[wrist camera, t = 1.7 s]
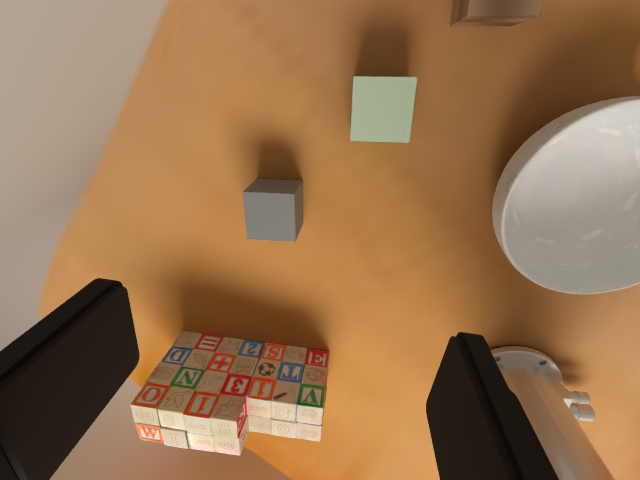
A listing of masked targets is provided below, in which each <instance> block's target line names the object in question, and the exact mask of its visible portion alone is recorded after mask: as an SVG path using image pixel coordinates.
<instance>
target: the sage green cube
mask: <svg viewBox="0 0 640 480" xmlns="http://www.w3.org/2000/svg"><path fill="white" fill-rule="evenodd" d="M416 84H417V77H362V76H353V95H352V116H351V136H350V141H370V142H406V143H409V140H410V132H411V124H412V116H413V108H414V100H415V92H416Z"/></svg>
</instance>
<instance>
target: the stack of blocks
mask: <svg viewBox="0 0 640 480" xmlns="http://www.w3.org/2000/svg"><path fill="white" fill-rule="evenodd" d="M329 353H330V352H329V351H322V350H314V349H307V348H304V347H297V346H286V345H282V344H275V343H268V342H266V343H265V342H258V341H251V340H243V339H235V338H228V337H223V336H216V335H209V334H202V333H196V332H188V331H182V333H181V334H180V336H179V337H178V338H177V340H176V341H175V342H174V344H173V346H172V347H171V348H170V350H169V351H168V353H167V354H166V355H165V357H164V358H163V359H162V361H161V362H160V363H159V364H158V365H157V367H156V368H155V369H154V371H153V372H152V374H151V375H150V376H149V378H148V379H147V381H146V384H145V385H144V387H143V388H142V389H141V391H140V392H139V393H138V395H137V396H136V397H135V399H134V400H133V402H132V403H131V409H132V413H133V417H134V421H135V422H136V428H137V431H138V434H139V437H140V439H141V440H146V441H154V442H159V443H164V444H165V445H168V446H174V447H180V448H189V447H190V448H191V449H197V450H204V451H211V452H214V451H216V452H219V453H226V454H233V455H241V451H242V448H243V446H244V443H245V440H246V437H247V434H248V431H253V432H260V433H266V434H272V435H277V436H284V437H290V438H299V439H305V440H311V441H318V442H319V441H320V438H321V430H322V422H323V414H324V405H325V398H326V389H327V385H326V384H327V374H328V366H329Z"/></svg>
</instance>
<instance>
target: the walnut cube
mask: <svg viewBox="0 0 640 480" xmlns="http://www.w3.org/2000/svg"><path fill="white" fill-rule="evenodd" d="M543 1H544V0H454V5H453V12H452V18H451V25H450V26H513V25H515V24H518V23H521V22H523V21H526V20H529V19H532V18H534V17H537V16H540V13H541V9H542V5H543Z"/></svg>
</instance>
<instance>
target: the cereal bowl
mask: <svg viewBox="0 0 640 480" xmlns="http://www.w3.org/2000/svg"><path fill="white" fill-rule="evenodd" d="M492 221H493V227H494V230H495V234H496V237H497V240H498V243H499V244H500V246H501V249H502V250H503V252H504V254H505V255H506V257H507V258H508V260H509V261H510V262H511V264H512V265H513V266H514V267H515V268H516V269H517V270H518V271H519V272H520V273H521V274H522V275H524V276H525V277H526V278H528V279H529V280H531V281H532V282H534V283H536V284H538V285H540V286H542V287H544V288H547V289H550V290H554V291H558V292H563V293H570V294H597V293H605V292H611V291H616V290H621V289H624V288H628V287H631V286H634V285H637V284H640V96H631V97H627V96H625V97H620V98H613V99H608V100H605V101H598V102H596V103H593V104H588V105H585V106H583V107H580V108H578V109H574V110H573V111H571V112H567V113H565V114H564V115H561V116H560V117H558V118H557V119H554V120H552V121H551V122H550V123H548V124H546V125H545V126H544V127H542V128H541V129H540V130H539V131H537V132H535V133H534V134H533V135H532V136H530V138H529V139H528V140H527V141H526V142H524V143H523V145H522V146H520V148H519V149H518V150H517V151H516V152H515V154H514V155H513V156H512V157H511V159H510V161H509V162H508V163H507V165H506V167H505V168H504V170H503V172H502V175H501V177H500V179H499V181H498V184H497V186H496V190H495V194H494V198H493V203H492Z"/></svg>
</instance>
